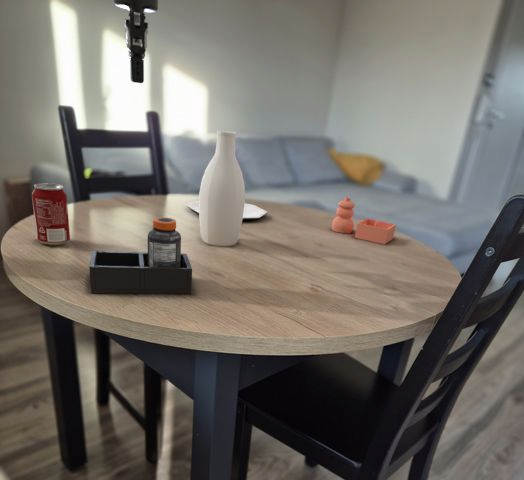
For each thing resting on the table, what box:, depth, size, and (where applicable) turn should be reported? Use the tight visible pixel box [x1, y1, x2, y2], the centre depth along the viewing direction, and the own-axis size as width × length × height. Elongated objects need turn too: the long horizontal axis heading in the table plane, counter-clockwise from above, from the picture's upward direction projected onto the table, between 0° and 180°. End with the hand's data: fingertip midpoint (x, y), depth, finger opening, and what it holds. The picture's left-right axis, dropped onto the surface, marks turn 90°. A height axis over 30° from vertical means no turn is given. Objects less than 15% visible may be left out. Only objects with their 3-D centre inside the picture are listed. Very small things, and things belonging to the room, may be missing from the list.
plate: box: [186, 199, 268, 220], centre depth 150 cm, size 24×24×2 cm
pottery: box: [331, 196, 397, 245], centre depth 142 cm, size 18×10×10 cm, turn 62°
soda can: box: [31, 182, 71, 247], centre depth 103 cm, size 7×7×12 cm
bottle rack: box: [88, 250, 193, 295], centre depth 89 cm, size 17×9×5 cm, turn 104°
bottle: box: [198, 129, 246, 247], centre depth 115 cm, size 11×11×25 cm
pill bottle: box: [147, 216, 182, 268], centre depth 88 cm, size 6×6×11 cm
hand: (136, 82), depth 90 cm, fingers open, 8 cm apart
